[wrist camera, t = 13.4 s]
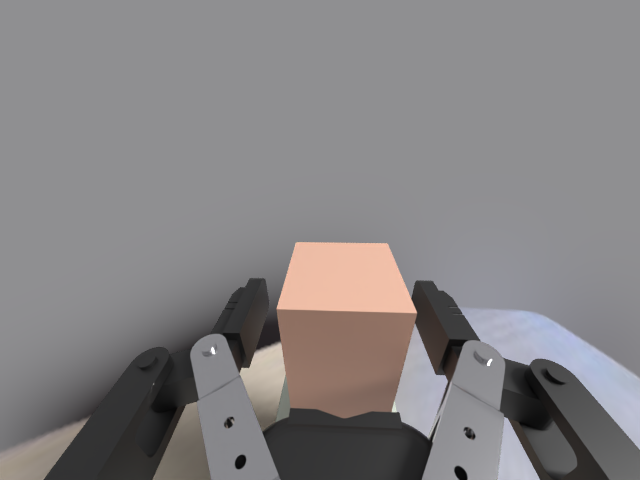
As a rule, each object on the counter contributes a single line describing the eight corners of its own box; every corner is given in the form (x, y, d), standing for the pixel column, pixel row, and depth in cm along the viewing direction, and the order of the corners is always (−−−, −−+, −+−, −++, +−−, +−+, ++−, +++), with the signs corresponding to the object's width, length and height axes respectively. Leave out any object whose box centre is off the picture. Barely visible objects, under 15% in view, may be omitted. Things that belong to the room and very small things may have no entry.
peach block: (377, 466, 13) (417, 313, 7) (298, 461, 13) (276, 309, 7) (366, 384, 17) (387, 243, 11) (306, 381, 17) (296, 242, 11)
